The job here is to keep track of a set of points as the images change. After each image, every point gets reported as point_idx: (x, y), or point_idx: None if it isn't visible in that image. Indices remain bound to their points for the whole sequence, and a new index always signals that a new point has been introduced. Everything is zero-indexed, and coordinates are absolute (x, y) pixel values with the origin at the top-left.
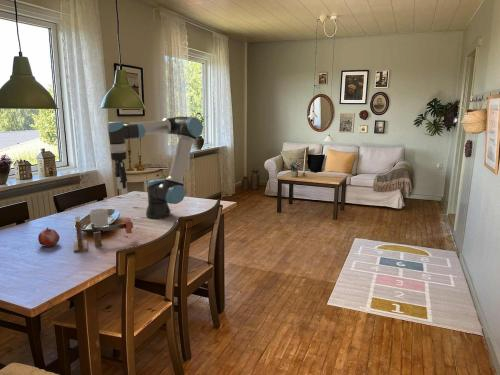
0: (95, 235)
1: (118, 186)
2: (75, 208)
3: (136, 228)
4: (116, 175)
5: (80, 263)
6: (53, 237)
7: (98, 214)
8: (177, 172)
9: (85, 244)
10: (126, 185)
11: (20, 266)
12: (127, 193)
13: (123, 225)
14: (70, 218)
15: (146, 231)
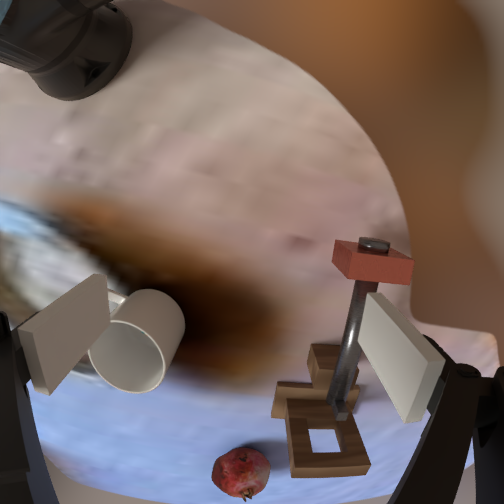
0: (353, 384)
1: (99, 326)
2: None
3: (209, 174)
4: (29, 406)
5: None
6: (266, 471)
7: (167, 366)
8: None
9: (321, 392)
10: (421, 337)
11: (349, 488)
12: (383, 295)
13: (377, 286)
14: None
15: (278, 146)
